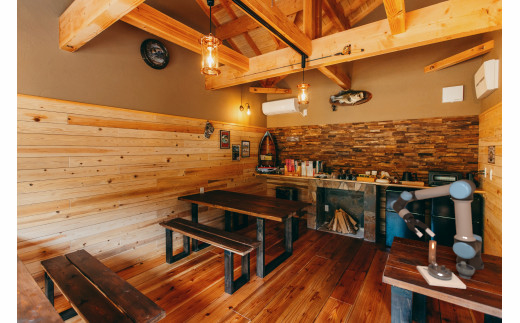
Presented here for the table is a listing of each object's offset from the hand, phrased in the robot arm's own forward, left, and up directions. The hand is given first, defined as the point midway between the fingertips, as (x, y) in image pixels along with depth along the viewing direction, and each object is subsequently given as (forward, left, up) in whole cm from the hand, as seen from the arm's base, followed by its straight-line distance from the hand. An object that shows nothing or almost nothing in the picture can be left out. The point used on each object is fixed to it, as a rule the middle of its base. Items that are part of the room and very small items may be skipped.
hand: (427, 236), depth 174 cm
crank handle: (0, +15, -20) cm, 25 cm away
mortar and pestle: (-17, +14, -22) cm, 31 cm away
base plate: (0, +19, -22) cm, 29 cm away
